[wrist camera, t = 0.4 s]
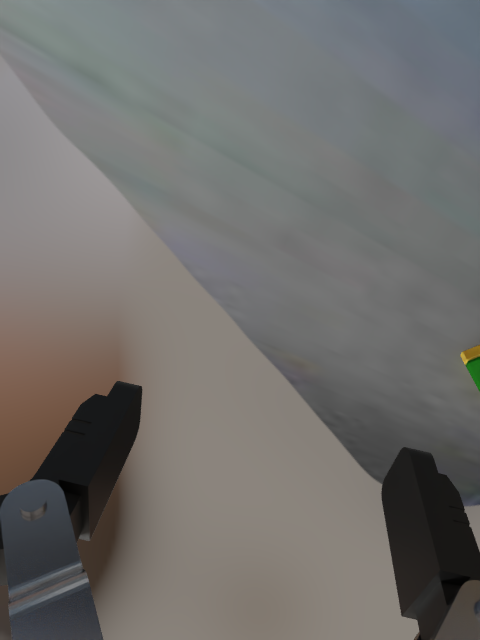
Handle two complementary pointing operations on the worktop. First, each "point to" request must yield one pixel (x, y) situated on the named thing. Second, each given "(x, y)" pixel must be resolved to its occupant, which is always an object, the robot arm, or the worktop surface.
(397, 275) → the worktop surface
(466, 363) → the dish sponge
